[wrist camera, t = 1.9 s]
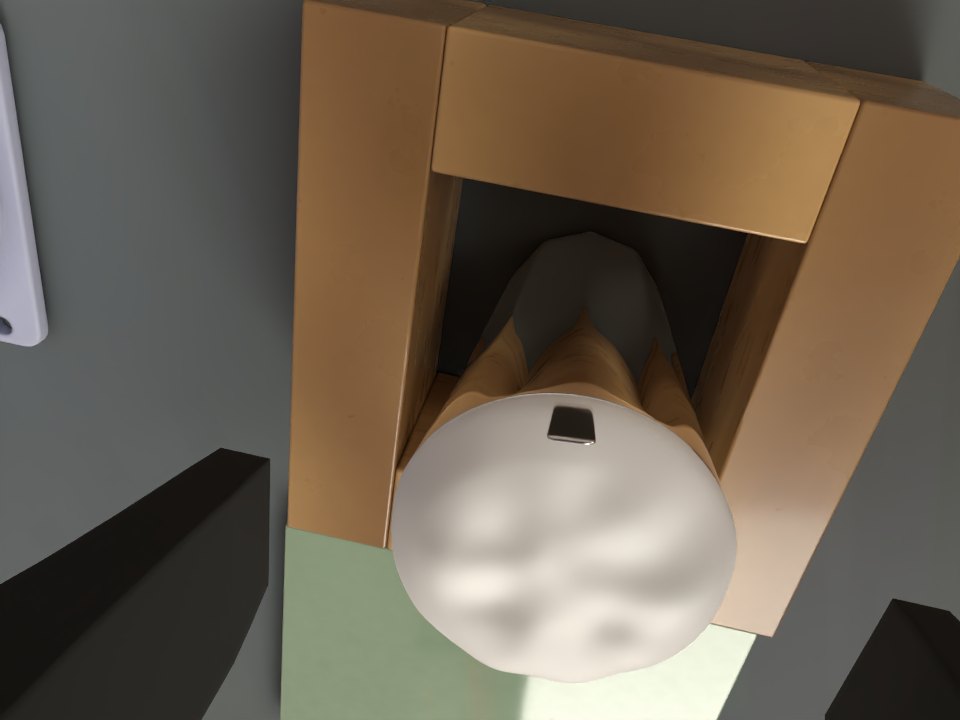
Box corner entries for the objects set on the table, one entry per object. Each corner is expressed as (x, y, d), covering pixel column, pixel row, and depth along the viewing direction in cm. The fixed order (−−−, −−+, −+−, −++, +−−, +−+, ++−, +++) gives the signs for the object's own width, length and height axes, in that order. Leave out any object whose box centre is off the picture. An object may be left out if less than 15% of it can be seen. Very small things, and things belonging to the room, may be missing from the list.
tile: (285, 713, 26) (278, 729, 26) (292, 511, 22) (284, 525, 21) (667, 806, 25) (668, 825, 25) (756, 616, 21) (759, 633, 20)
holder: (344, 425, 20) (285, 527, 17) (375, -17, 15) (301, -2, 11) (746, 513, 19) (773, 638, 16) (926, 81, 14) (1024, 129, 11)
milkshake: (714, 172, 16) (829, 472, 7) (669, 398, 18) (713, 823, 9) (489, 152, 16) (335, 409, 7) (477, 375, 19) (352, 756, 10)
